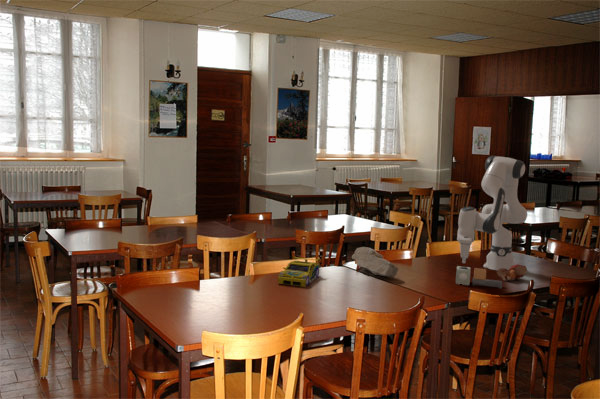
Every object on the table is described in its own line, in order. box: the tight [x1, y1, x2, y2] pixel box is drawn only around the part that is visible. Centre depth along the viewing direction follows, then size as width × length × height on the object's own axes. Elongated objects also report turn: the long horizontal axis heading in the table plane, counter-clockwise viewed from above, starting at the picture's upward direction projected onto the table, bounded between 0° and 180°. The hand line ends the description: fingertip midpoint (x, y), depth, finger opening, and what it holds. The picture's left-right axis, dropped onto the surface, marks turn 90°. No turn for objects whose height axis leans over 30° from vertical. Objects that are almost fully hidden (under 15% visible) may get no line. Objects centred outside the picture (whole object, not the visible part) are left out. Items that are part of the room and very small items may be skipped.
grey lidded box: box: [455, 265, 471, 286], centre depth 314 cm, size 8×7×8 cm
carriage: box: [473, 267, 487, 284], centre depth 312 cm, size 5×6×7 cm
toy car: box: [277, 255, 321, 288], centre depth 307 cm, size 16×27×10 cm, turn 163°
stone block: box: [351, 246, 399, 278], centre depth 327 cm, size 34×10×15 cm
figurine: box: [496, 264, 528, 282], centre depth 326 cm, size 20×9×15 cm
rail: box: [471, 277, 503, 289], centre depth 312 cm, size 6×15×3 cm, turn 75°
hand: (463, 262), depth 314 cm, fingers closed
